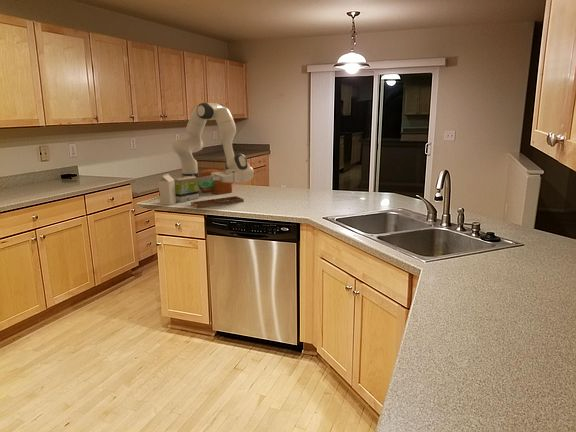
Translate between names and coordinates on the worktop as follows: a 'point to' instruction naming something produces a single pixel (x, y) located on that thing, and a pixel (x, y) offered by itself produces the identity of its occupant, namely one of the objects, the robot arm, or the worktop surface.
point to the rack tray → (217, 202)
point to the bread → (217, 182)
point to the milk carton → (167, 190)
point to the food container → (206, 184)
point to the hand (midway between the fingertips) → (210, 178)
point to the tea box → (186, 188)
